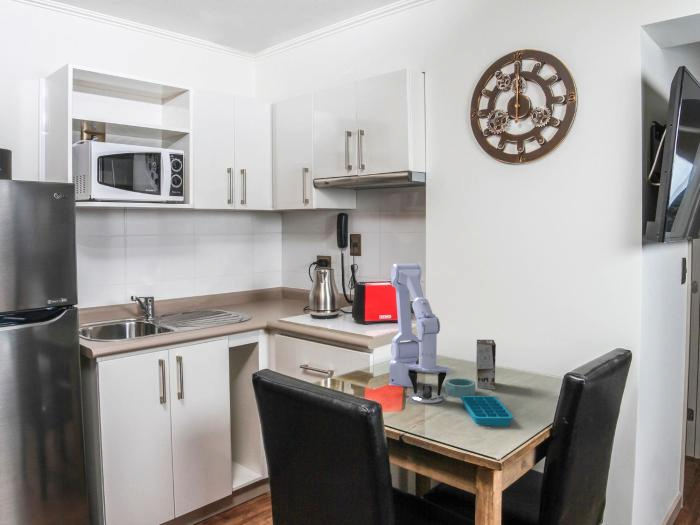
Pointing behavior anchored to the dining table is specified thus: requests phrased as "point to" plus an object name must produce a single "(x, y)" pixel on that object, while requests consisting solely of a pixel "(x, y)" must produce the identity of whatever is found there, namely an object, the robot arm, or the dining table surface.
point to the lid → (427, 396)
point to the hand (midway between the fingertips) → (427, 393)
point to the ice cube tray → (487, 410)
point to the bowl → (460, 387)
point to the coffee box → (485, 364)
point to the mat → (428, 404)
